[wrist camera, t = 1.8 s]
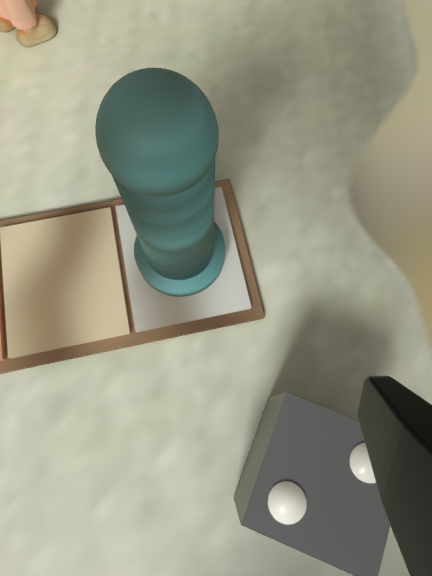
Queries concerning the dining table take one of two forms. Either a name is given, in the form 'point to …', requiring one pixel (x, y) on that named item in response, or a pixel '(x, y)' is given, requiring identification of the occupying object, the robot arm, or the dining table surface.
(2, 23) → the grandmother figurine
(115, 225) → the board
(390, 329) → the dining table surface
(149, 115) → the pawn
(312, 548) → the die
